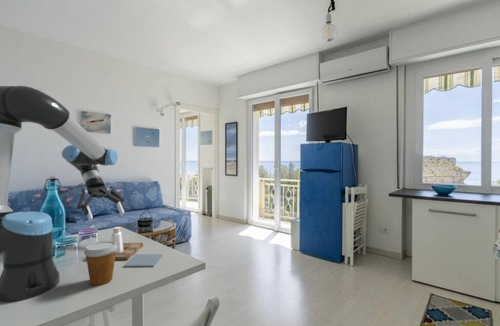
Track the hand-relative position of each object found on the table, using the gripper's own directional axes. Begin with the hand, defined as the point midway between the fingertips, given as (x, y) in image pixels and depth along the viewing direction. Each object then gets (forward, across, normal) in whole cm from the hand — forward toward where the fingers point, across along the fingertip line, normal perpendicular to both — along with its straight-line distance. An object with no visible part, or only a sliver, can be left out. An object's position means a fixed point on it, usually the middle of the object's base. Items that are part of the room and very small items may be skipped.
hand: (107, 216), depth 115 cm
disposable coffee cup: (+32, +15, +12) cm, 37 cm away
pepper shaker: (+17, 0, -3) cm, 17 cm away
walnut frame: (+17, 0, -3) cm, 17 cm away
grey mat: (+29, -2, +9) cm, 31 cm away
